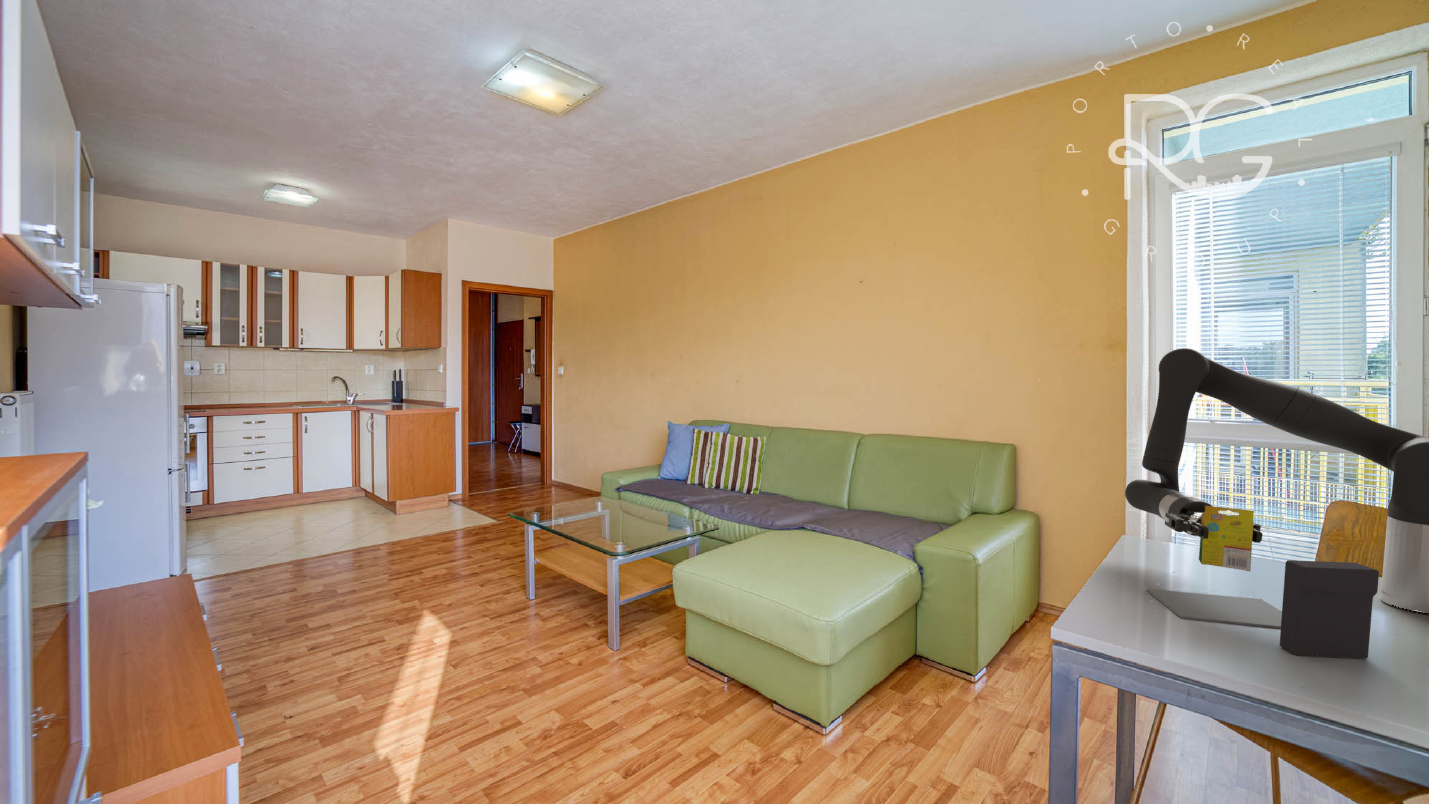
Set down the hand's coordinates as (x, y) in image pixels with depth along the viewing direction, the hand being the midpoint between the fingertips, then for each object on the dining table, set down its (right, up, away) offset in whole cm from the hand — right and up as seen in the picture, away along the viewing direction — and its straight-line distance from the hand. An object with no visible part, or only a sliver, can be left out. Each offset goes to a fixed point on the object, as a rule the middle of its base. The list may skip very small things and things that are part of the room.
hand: (1232, 535), depth 110 cm
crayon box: (0, -7, +2) cm, 7 cm away
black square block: (+2, -16, -14) cm, 22 cm away
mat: (+1, -15, +3) cm, 15 cm away
